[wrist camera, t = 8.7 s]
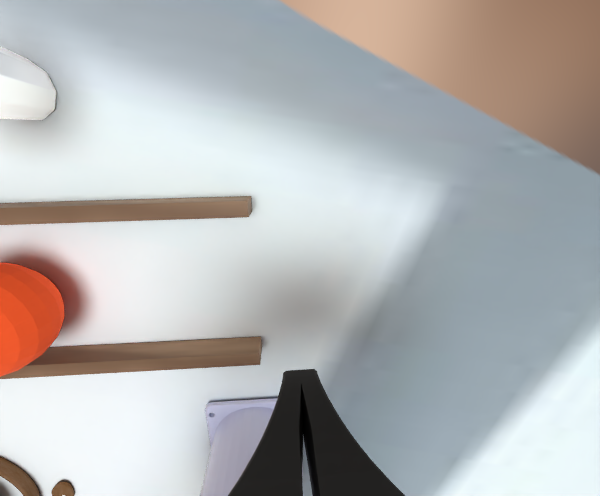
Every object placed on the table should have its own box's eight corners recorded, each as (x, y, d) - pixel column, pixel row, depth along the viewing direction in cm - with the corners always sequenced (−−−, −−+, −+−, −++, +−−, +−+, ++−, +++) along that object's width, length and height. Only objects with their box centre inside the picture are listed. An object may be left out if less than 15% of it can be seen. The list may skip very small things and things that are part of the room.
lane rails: (261, 347, 23) (260, 364, 21) (-28, 362, 22) (-57, 382, 20) (250, 196, 19) (247, 200, 17) (-99, 205, 18) (-144, 212, 16)
